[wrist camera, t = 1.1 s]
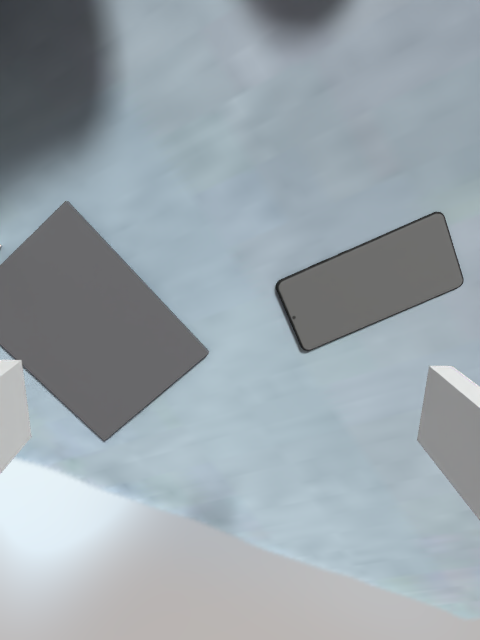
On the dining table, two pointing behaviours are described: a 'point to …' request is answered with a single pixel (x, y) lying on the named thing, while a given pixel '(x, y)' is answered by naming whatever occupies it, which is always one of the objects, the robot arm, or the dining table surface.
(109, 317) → the mat
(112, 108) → the dining table surface
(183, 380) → the dining table surface
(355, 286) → the smartphone
